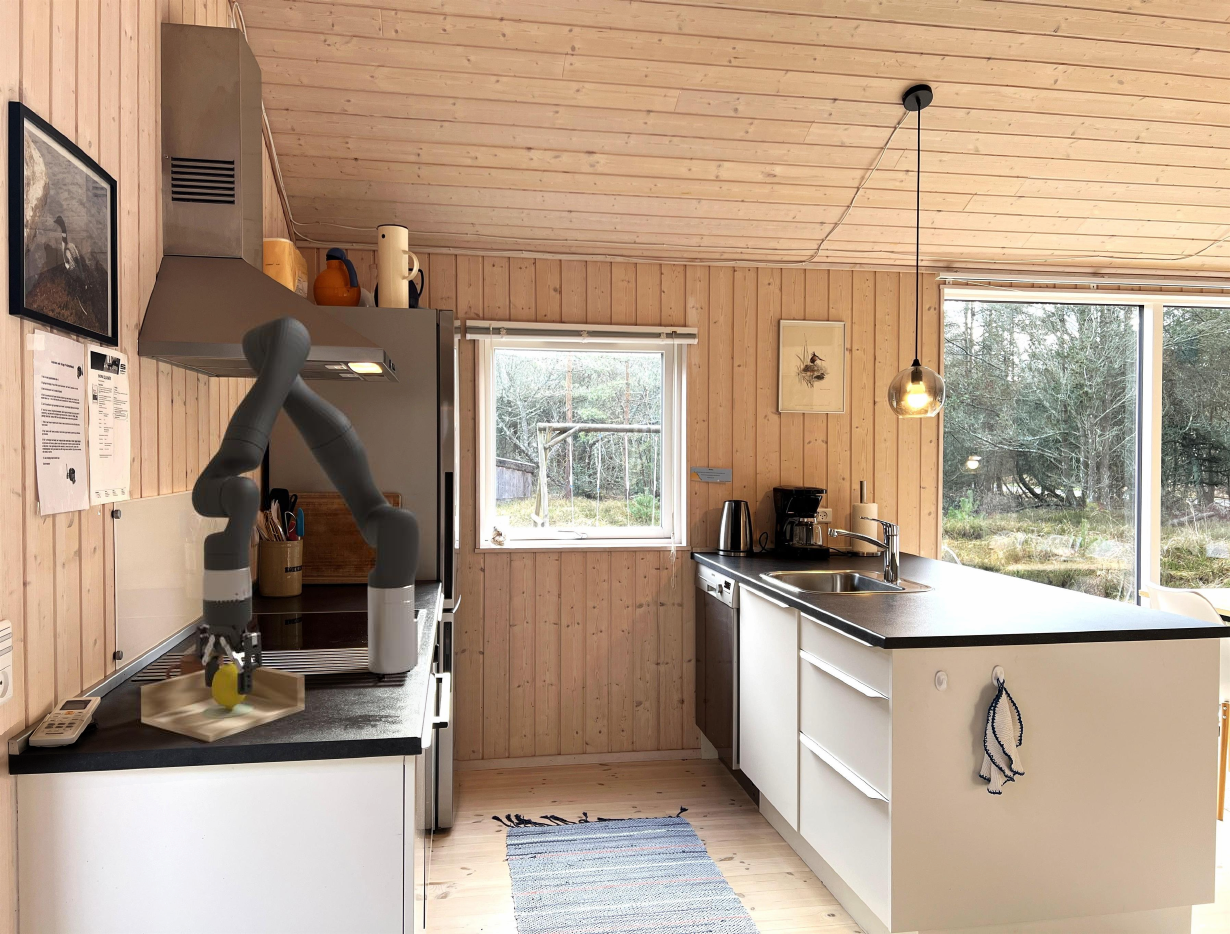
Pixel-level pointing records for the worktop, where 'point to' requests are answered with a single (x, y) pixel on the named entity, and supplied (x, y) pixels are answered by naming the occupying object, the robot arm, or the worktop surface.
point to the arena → (200, 716)
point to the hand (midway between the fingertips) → (228, 689)
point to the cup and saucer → (189, 665)
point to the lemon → (226, 687)
